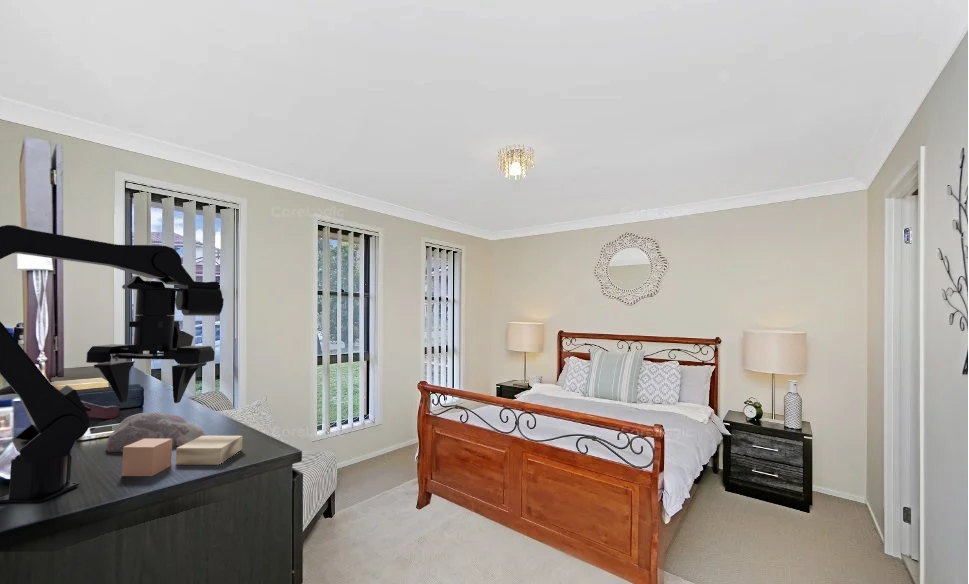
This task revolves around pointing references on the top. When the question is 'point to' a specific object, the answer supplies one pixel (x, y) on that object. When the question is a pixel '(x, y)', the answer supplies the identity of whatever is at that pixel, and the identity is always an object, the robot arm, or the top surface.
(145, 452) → the block
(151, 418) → the stone
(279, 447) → the top surface
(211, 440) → the base
